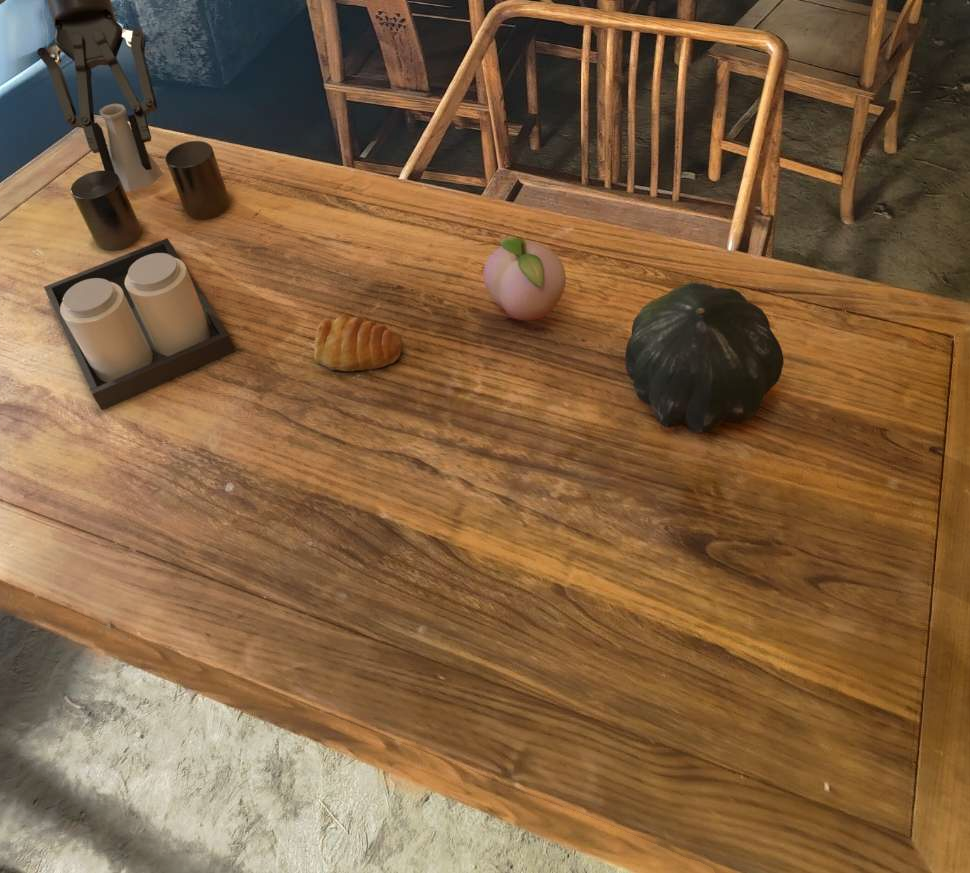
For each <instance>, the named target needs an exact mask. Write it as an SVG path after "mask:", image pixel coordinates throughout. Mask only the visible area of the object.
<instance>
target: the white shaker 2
mask: <svg viewBox="0 0 970 873" xmlns="http://www.w3.org/2000/svg"><path fill="white" fill-rule="evenodd" d="M181 260H182V259H181ZM181 260H179V259H177V258H174V257H173V256H171V255H169V254H166V253H154V254H149V255H146V256H144V257H142V258H140V259H138V260H137V261H135V262H134V263H133V264H132V265H131V266H130V268H129V270H128V274H127V276H126V278H125V287H126V289H127V291H128V293H129V295H130V297H131V300H132V302H133V304H134V306H135V308H136V310H137V312H138V314H139V316H140V318H141V320H142V322H143V325H144V327H145V329H146V331H147V333H148V335H149V337H150V339H151V341H152V343H153V345H154V347H155V349H156V350H157V351H158V352H159V353H160V354H162V355H165V356H170V355H173V354H175V353H177V352H179V351H182V350H184V349H186V348H189V347H191V346H193V345H196V344H198V343H200V342H203V341H205V340H207V339H209V338H210V335H211V327H210V325H209V322H208V320H207V317H206V315H205V312H204V310H203V307H202V305H201V302H200V300H199V298H198V295H197V293H196V290H195V288H194V285H193V283H192V280H191V278H190V275H189V273H190V272H189V273H188V271H189V270H188V268H187V266H186V263H185V262H184V261H183V260H182V261H181ZM187 270H188V271H187Z"/></svg>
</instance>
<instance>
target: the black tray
mask: <svg viewBox="0 0 970 873" xmlns="http://www.w3.org/2000/svg"><path fill="white" fill-rule="evenodd" d="M154 253H166V254H169V255H171V256H173V257H174V258H177V259H179V260H181V261H182V262H183V260H182V258H181V257H180V256H179V254H178V252H177V251H176V249H175V247H174V246H173V244H172V243H171V241H170V239H169V238H167V237H166V238H164V239H162V240H159V241H157V242H156V241H155V242H153V243H151V244H149V245H145V246H144V247H141V248H138V249H136V250H132V251H131V252H128V253H126V254H123V255H121V256H119V257H115V258H113V259H111V260H108V261H105V262H103V263H101V264H98V265H95V266H93V267H90V268H88V269H85V270H83V271H80V272H78V273H75V274H73V275H70V276H67V277H65V278H63V279H60V280H58V281H55V282H52V283H50V284H47V285H44V286H43V289H44V291H45V294H46V296H47V298H48V301H49V303H50V304H51V307H52V309H53V311H54V313H55V316H56V318H57V320H58V323H59V325H60V327H61V329H62V331H63V333H64V336H65V338H66V340H67V343H68V344H69V347H70V349H71V351H72V353H73V356H74V357H75V360H76V362H77V364H78V366H79V370H80V371H81V374H82V376H83V378H84V381H85V383H86V385H87V386H88V389H89V391H90V393H91V395H92V397H93V399H94V401H95V402H96V404H97V405H98V408H99V409H100V411H104V410H106V409H108V408H111V407H112V406H115V405H117V404H119V403H122V402H124V401H127V400H129V399H131V398H133V397H135V396H138V395H140V394H143V393H145V392H147V391H149V390H152V389H154V388H156V387H158V386H160V385H163V384H165V383H167V382H169V381H172V380H174V379H176V378H179V377H181V376H184V375H186V374H188V373H190V372H193V371H194V370H196V369H197V370H198V369H199V368H201V367H203V366H206V365H208V364H211V363H213V362H215V361H217V360H219V359H222V358H224V357H227V356H228V355H229V356H230V355H231V354H233V353H235V352H236V349H235V347H234V346H235V345H234V344H233V342H232V338H231V336H230V334H229V332H228V331H227V329H226V327H225V326H224V325H223V323H222V321H221V320H220V318H219V316H218V315H217V313H216V312H215V311H214V309H213V307H212V306H211V304H210V302H209V301H208V299H207V298H206V296H205V295H204V293H203V292H202V290H201V288H200V287H199V285H198V283H197V282H196V281H195V279H194V278H193V276H192V274H191V273H190V271H189V270H188V269H187V271H188V273H189V275H190V278H191V280H192V283H193V285H194V288H195V290H196V293H197V295H198V298H199V300H200V302H201V305H202V307H203V310H204V312H205V315H206V317H207V320H208V322H209V325H210V327H211V335H210V338H209V339H207V340H205V341H203V342H200V343H198V344H196V345H193V346H191V347H189V348H186V349H184V350H182V351H179V352H177V353H175V354H173V355H170V356H165V355H162V354H160V353H159V352H158V351H157V350H156V349H155V347H154V345H153V343H152V341H151V339H150V337H149V335H148V333H147V331H146V329H145V327H144V325H143V322H142V320H141V318H140V316H139V314H138V312H137V310H136V308H135V306H134V304H133V302H132V300H131V297H130V295H129V293H128V291H127V289H126V287H125V278H126V276H127V274H128V270H129V268H130V266H131V265H132V264H133V263H134V262H135V261H137V260H138V259H140V258H142V257H144V256H146V255H149V254H154ZM92 278H102V279H106V280H108V281H109V282H113V283H115V284H117V285H119V286H120V287H121V288H122V290H123V292H124V294H125V296H126V298H127V300H128V302H129V304H130V306H131V308H132V310H133V313H134V315H135V317H136V319H137V321H138V323H139V325H140V327H141V329H142V331H143V333H144V335H145V337H146V339H147V341H148V343H149V346H150V348H151V350H152V352H153V359H152V362H151V364H149V365H147V366H145V367H143V368H140V369H138V370H136V371H133V372H131V373H129V374H126V375H124V376H122V377H119V378H117V379H115V380H113V381H110V382H108V383H107V382H104V381H102V380H100V379H98V378H97V377H96V375H95V373H94V372H93V370H92V368H91V366H90V365H89V363H88V361H87V359H86V358H85V356H84V354H83V352H82V350H81V349H80V347H79V345H78V343H77V342H76V340H75V338H74V336H73V335H72V333H71V331H70V329H69V327H68V326H67V324H66V322H65V320H64V319H63V317H62V315H61V312H60V307H61V304H62V302H63V297H64V295H65V293H66V292H67V291H68V290H69V289H70V288H71V287H72V286H73V285H75V284H77V283H79V282H81V281H84V280H87V279H92Z"/></svg>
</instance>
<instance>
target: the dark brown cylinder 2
mask: <svg viewBox="0 0 970 873" xmlns="http://www.w3.org/2000/svg"><path fill="white" fill-rule="evenodd" d="M165 155H166V156H165V163H166V165H167V168H168V171H169V173H170V176H171V178H172V181H173V183H174V186H175V189H176V191H177V194H178V196H179V199H180V202H181V204H182V207H183V209H184V212H185V214H186V215H187V217H189V218H190V219H192V220H198V221H208V220H211V219H215V218H217V217H220V216H221V215H223V214H224V213H226V211H228V209H229V208H230V206H231V199H230V196H229V194H228V190H227V187H226V184H225V182H224V178H223V175H222V172H221V169H220V166H219V164H218V160H217V158H216V154H215V152H214V149H213V146H212V145H211V144H210V143H208V142H205V141H201V140H191V141H186V142H183V143H180V144H177V145H175V146H173V147H172V148H171V149H170V150H169V151H167V153H166V154H165Z"/></svg>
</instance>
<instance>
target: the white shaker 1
mask: <svg viewBox="0 0 970 873" xmlns="http://www.w3.org/2000/svg"><path fill="white" fill-rule="evenodd" d="M60 312H61V315H62V317H63V319H64V320H65V322H66V324H67V326H68V327H69V329H70V331H71V333H72V335H73V336H74V338H75V340H76V342H77V343H78V345H79V347H80V349H81V350H82V352H83V354H84V356H85V358H86V359H87V361H88V363H89V365H90V366H91V368H92V370H93V372H94V373H95V375H96V377H97V378H98V379H100V380H102V381H104V382H107V383H108V382H110V381H113V380H115V379H117V378H119V377H122V376H124V375H126V374H129V373H131V372H133V371H136V370H138V369H140V368H143V367H145V366H147V365H149V364H151V362H152V359H153V352H152V350H151V348H150V346H149V343H148V341H147V339H146V337H145V335H144V333H143V331H142V329H141V327H140V325H139V323H138V321H137V319H136V317H135V315H134V313H133V310H132V308H131V306H130V304H129V302H128V300H127V298H126V296H125V294H124V292H123V290H122V288H121V287H120V286H119V285H117V284H115V283H113V282H109V281H108V280H106V279H102V278H92V279H87V280H84V281H81V282H79V283H77V284H75V285H73V286H72V287H71V288H70V289H69V290H68V291H67V292H66V293H65V295H64V297H63V302H62V304H61V307H60Z"/></svg>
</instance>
